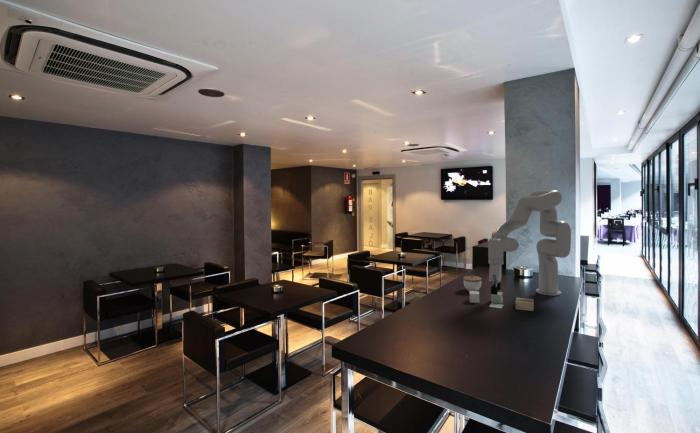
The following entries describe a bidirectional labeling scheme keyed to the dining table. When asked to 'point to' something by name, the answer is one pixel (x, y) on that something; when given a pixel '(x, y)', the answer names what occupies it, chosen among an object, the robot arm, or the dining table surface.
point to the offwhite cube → (474, 297)
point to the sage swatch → (496, 305)
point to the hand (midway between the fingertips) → (495, 292)
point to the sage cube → (497, 298)
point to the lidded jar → (472, 283)
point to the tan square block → (525, 304)
